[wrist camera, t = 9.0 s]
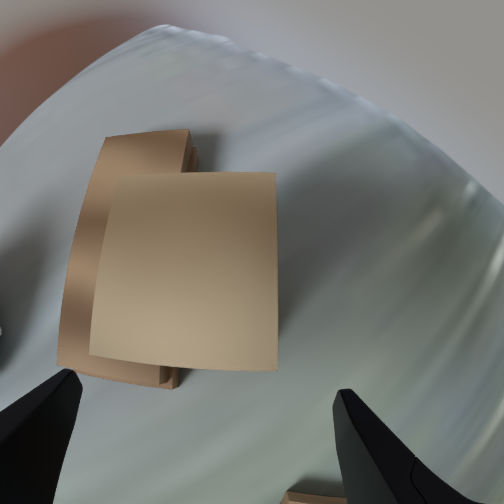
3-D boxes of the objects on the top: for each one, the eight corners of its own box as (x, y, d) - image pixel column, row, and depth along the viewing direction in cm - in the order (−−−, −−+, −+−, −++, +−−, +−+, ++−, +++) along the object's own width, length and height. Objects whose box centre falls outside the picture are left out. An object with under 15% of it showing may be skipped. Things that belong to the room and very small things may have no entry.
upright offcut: (259, 360, 17) (277, 371, 6) (188, 357, 17) (88, 354, 6) (260, 283, 19) (275, 172, 8) (192, 281, 19) (119, 176, 8)
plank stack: (178, 386, 16) (164, 392, 13) (82, 370, 16) (56, 370, 13) (199, 155, 22) (193, 128, 19) (119, 160, 22) (105, 137, 19)
